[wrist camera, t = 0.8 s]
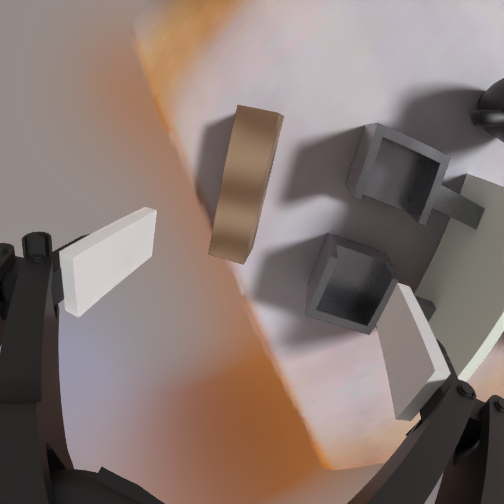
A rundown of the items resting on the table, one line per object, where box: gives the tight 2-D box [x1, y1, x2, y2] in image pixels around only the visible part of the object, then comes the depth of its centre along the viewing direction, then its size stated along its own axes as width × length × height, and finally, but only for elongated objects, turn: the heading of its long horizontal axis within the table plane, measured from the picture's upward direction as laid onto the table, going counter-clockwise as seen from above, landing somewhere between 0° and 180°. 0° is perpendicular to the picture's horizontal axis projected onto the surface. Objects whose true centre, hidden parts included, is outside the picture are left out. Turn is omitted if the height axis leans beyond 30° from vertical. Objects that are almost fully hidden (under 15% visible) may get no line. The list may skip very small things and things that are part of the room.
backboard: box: [414, 174, 504, 382], centre depth 24 cm, size 20×2×16 cm, turn 165°
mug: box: [470, 78, 504, 142], centre depth 20 cm, size 8×12×10 cm
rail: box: [209, 105, 284, 265], centre depth 31 cm, size 16×4×5 cm, turn 167°
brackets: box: [305, 123, 485, 335], centre depth 29 cm, size 20×14×7 cm
